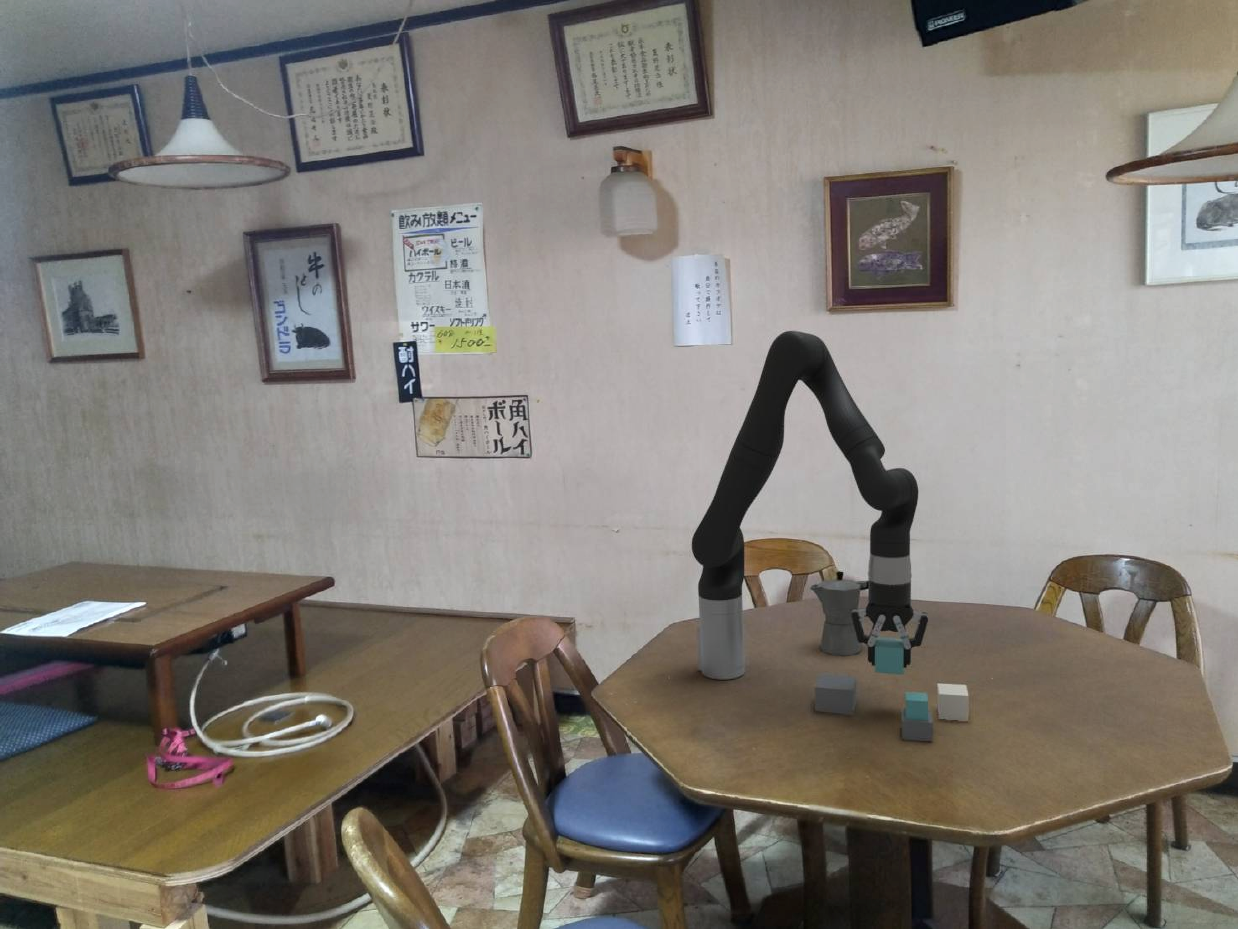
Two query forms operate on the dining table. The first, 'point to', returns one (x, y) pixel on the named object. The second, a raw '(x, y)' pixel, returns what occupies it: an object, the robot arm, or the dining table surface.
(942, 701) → the cream block
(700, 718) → the dining table surface
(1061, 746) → the dining table surface
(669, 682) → the dining table surface
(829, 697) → the charcoal block
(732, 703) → the dining table surface
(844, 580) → the coffeepot
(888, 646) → the teal block
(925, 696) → the stack
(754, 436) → the robot arm
